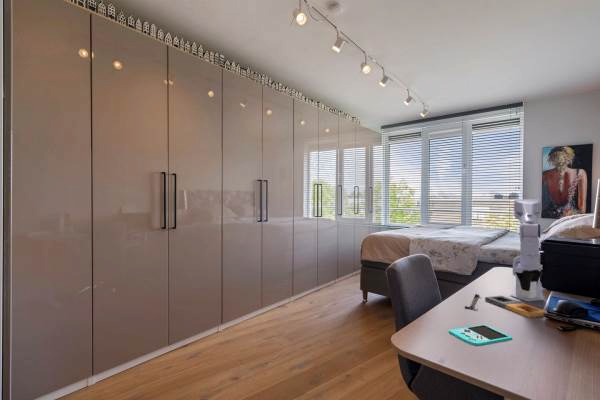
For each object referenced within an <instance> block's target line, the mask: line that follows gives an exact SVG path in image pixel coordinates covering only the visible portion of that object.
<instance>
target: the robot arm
mask: <svg viewBox="0 0 600 400" xmlns="http://www.w3.org/2000/svg"><path fill="white" fill-rule="evenodd" d="M513 202H514V203H513V216H514V218H515V219H517V220H518V221H519V223H520V224H519V231H518V232H519V238H520V240H519V242H520V246H519V249H520V251H519V253H520V254H519V255H518V256H516V257H514V258H513V260H512V275H513V277H515V293H514V294H510V297H513V298H516V299H519V300H522V301H525V302H527V303H528V302H536V301H538V302H539V301H544V300H545V299H544V298H542V291H543V290H542V286H543V285H542V282H541V281H540V279H541V277H542V275H543V274H544V272H543V271H542V270H543V264H541V263H540V261H539V259H540V240H541V237H542V226H541V223H539V219H540V217H541V214H542V210H543V209H542V208H543V207H542V206H543V205H542V200H541V199H539V198H538V199H520V198H519V199H517V198H515V199H514V200H513ZM531 280H533V281H537V284H536V297H533V298H528V297H524V296H520V295H519V281H520V285H521V288H522V290H525V291H529V288H530V282H531Z"/></svg>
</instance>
